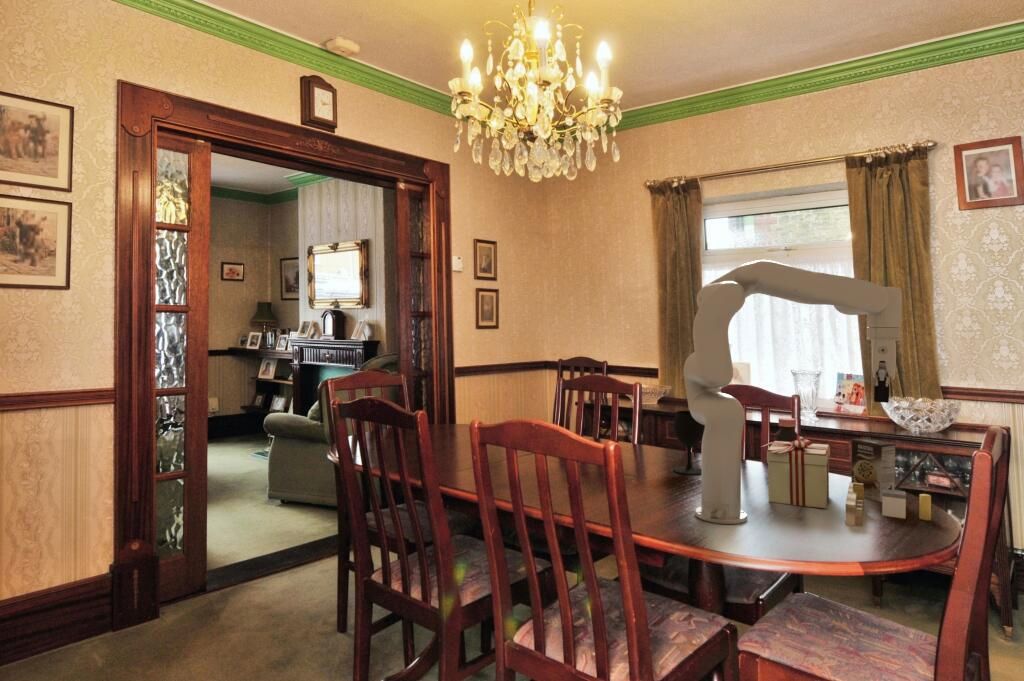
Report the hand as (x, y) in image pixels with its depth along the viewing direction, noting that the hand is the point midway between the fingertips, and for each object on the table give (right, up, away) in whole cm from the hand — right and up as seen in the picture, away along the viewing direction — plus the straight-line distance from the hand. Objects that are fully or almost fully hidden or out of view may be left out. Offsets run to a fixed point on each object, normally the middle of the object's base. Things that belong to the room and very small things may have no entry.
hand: (881, 400), depth 156 cm
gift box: (-17, -30, +13) cm, 36 cm away
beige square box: (+2, -30, -1) cm, 30 cm away
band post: (+8, -30, -5) cm, 31 cm away
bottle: (-10, -29, +31) cm, 44 cm away
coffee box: (+7, -29, +15) cm, 34 cm away
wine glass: (-36, -29, +46) cm, 65 cm away
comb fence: (-7, -29, +1) cm, 30 cm away
